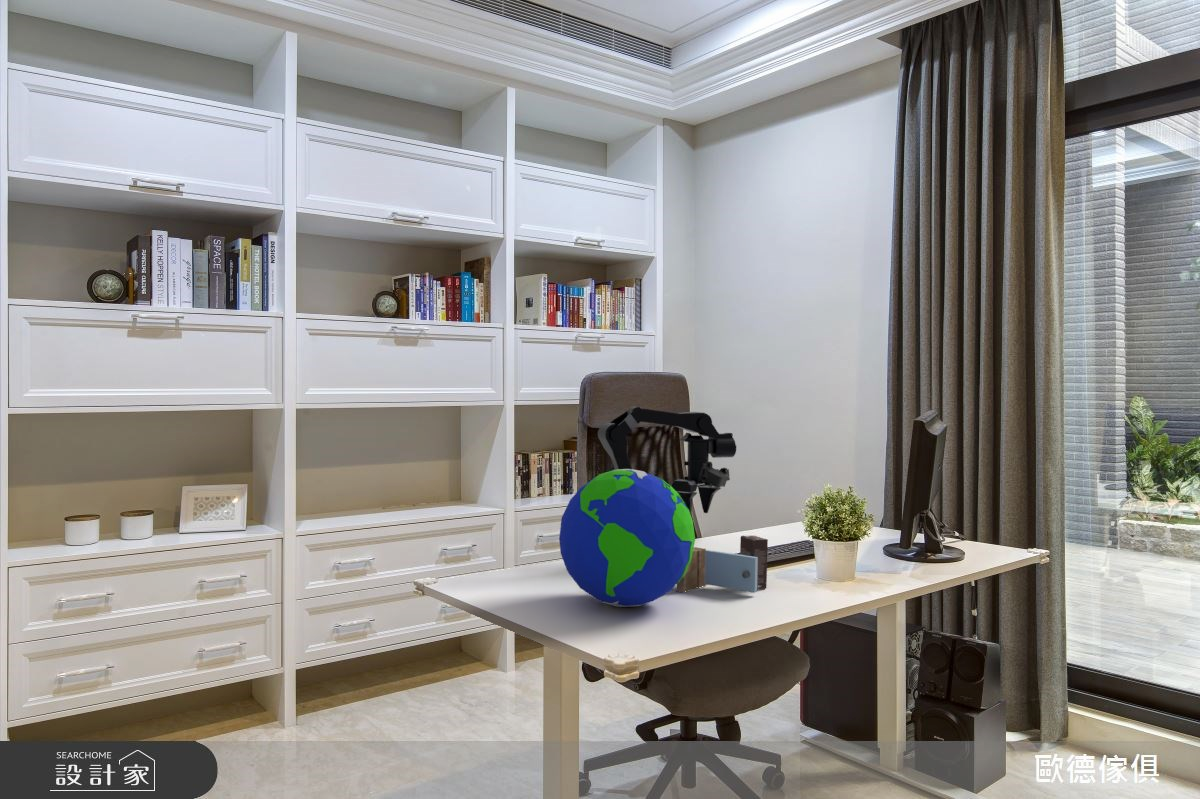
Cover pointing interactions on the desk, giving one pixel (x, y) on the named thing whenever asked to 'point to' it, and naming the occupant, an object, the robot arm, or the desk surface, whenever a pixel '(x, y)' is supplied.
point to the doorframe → (694, 572)
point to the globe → (626, 537)
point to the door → (731, 570)
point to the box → (756, 549)
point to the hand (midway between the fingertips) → (697, 514)
